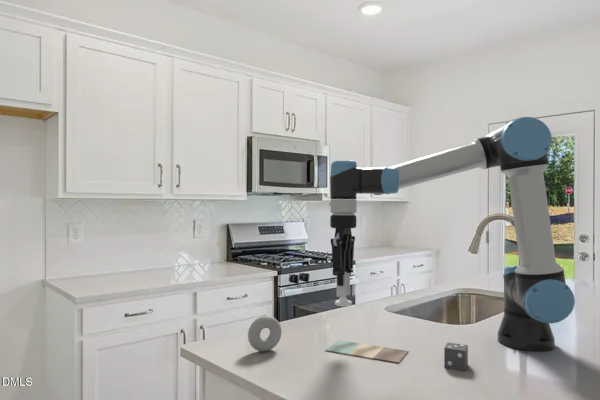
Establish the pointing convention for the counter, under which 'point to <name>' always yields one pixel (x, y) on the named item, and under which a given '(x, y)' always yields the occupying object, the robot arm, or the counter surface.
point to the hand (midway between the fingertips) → (343, 295)
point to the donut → (257, 328)
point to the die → (456, 356)
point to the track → (368, 351)
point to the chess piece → (343, 300)
